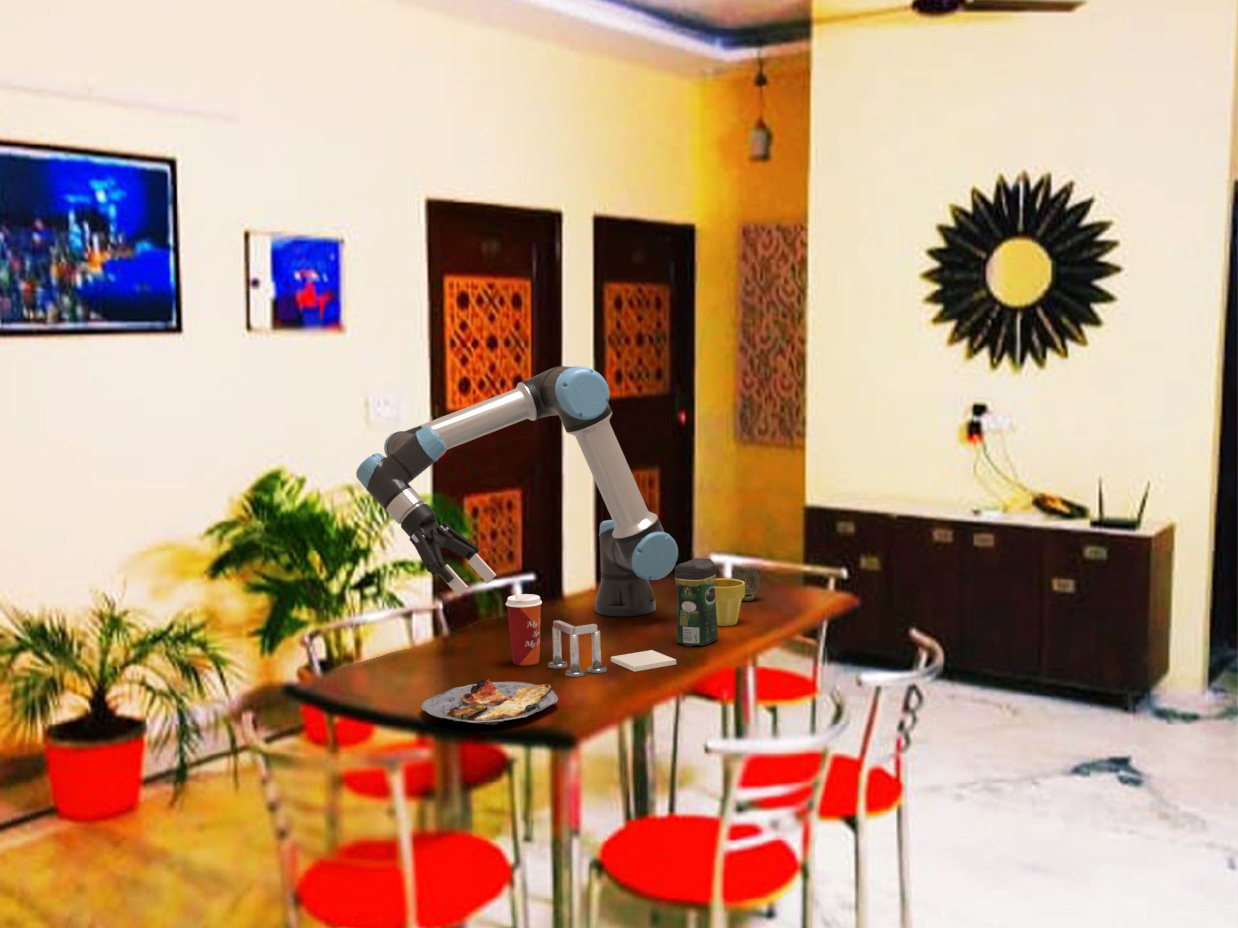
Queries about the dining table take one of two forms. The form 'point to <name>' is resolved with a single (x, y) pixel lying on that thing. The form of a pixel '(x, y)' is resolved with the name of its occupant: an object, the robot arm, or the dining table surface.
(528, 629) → the paper cup
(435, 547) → the robot arm
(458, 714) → the food plate
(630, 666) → the cream tile
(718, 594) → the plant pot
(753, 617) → the dining table surface
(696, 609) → the coffee jar
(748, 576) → the cup
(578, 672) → the bent rail
